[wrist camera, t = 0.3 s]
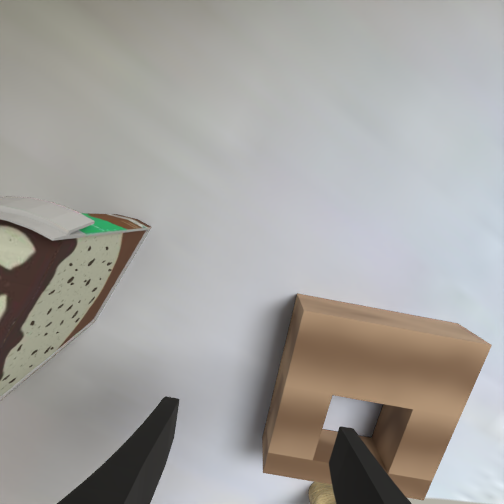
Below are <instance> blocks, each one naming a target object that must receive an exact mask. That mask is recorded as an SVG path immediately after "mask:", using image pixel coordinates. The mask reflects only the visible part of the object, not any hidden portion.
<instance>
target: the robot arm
mask: <svg viewBox="0 0 504 504" xmlns="http://www.w3.org/2000/svg"><path fill="white" fill-rule="evenodd" d="M178 406H179V399H176V398H171V397H164V398H163V399H162V400H161V402H160V403H159V404H158V406H157V407H156V408H155V409H154V411H153V412H152V413H151V414H150V416H149V417H148V418H147V419H146V420H145V421H144V423H143V424H142V425H141V426H140V427H139V428H138V429H137V430H136V431H135V433H134V434H133V435H132V436H131V437H130V438H129V439H128V440H127V441H126V442H125V443H124V444H123V445H122V446H121V447H120V448H119V449H118V450H117V451H116V452H115V453H114V454H113V455H112V456H111V457H110V458H109V459H108V460H107V461H106V462H105V463H104V464H103V465H102V466H101V467H100V468H98V469H97V470H96V471H95V472H94V473H93V474H92V475H91V476H90V477H88V478H87V479H86V480H85V481H84V482H83V483H82V484H80V485H79V486H78V487H77V488H75V489H74V490H73V491H72V492H71V493H69V494H68V495H67V496H66V497H65V498H63V499H62V500H61V501H60V502H58V503H57V504H150V502H151V500H152V497H153V495H154V492H155V490H156V487H157V485H158V482H159V480H160V477H161V475H162V472H163V470H164V467H165V465H166V461H167V458H168V455H169V452H170V449H171V445H172V442H173V439H174V433H175V427H176V420H177V413H178ZM329 469H330V475H331V481H332V487H333V492H334V496H335V500H336V504H411V502H410V501H409V500H408V499H407V498H406V496H405V495H404V494H403V493H402V492H401V490H400V489H399V488H398V487H397V485H396V484H395V483H394V482H393V480H392V479H391V478H390V477H389V475H388V474H387V473H386V471H385V470H384V469H383V468H382V466H381V465H380V464H379V462H378V461H377V460H376V458H375V457H374V456H373V454H372V453H371V452H370V450H369V449H368V448H367V446H366V445H365V444H364V442H363V441H362V440H361V438H360V437H359V436H358V434H357V433H356V432H355V430H354V429H352V428H346V427H339V431H338V434H337V437H336V440H335V444H334V447H333V450H332V453H331V457H330V460H329Z"/></svg>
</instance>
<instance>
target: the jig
mask: <svg viewBox="0 0 504 504" xmlns="http://www.w3.org/2000/svg"><path fill="white" fill-rule="evenodd" d="M491 346H492V345H491V344H489V343H487V342H486V341H484V340H483V339H481V338H480V337H478V336H477V335H475V334H473V333H472V332H470V331H469V330H467V329H466V328H464V327H462V326H461V325H459V324H457V323H452V322H447V321H441V320H436V319H431V318H425V317H420V316H414V315H409V314H404V313H398V312H393V311H388V310H382V309H377V308H372V307H366V306H361V305H356V304H350V303H345V302H339V301H334V300H329V299H323V298H318V297H313V296H307V295H302V294H297V296H296V301H295V305H294V309H293V313H292V317H291V321H290V325H289V329H288V334H287V338H286V342H285V346H284V350H283V354H282V358H281V362H280V367H279V371H278V375H277V379H276V383H275V387H274V391H273V395H272V400H271V404H270V408H269V412H268V416H267V420H266V424H265V429H264V433H263V437H262V447H263V473H268V474H274V475H279V476H285V477H291V478H297V479H303V480H308V481H314V482H320V483H326V484H332V481H331V475H330V469H329V460H330V457H331V453H332V450H333V447H334V444H335V440H336V437H337V434H338V432H336V431H330V430H325V429H322V428H323V424H324V421H325V418H326V414H327V411H328V408H329V404H330V401H331V398H332V395H335V396H341V397H346V398H352V399H358V400H363V401H369V402H374V403H380V404H383V407H382V410H381V413H380V415H379V418H378V421H377V424H376V427H375V430H374V432H373V435H372V438H370V437H364V436H359V435H358V436H359V437H360V438H361V440H362V441H363V442H364V444H365V445H366V446H367V448H368V449H369V450H370V452H371V453H372V454H373V456H374V457H375V458H376V460H377V461H378V462H379V464H380V465H381V466H382V468H383V469H384V470H385V471H386V473H387V474H388V475H389V477H390V478H391V479H392V480H393V482H394V483H395V484H396V485H397V487H398V488H399V489H400V490H401V492H402V493H403V494H404V495H405V496H406V497H407V498H413V499H419V500H424V498H425V496H426V494H427V491H428V489H429V487H430V484H431V482H432V480H433V478H434V475H435V473H436V471H437V469H438V466H439V464H440V462H441V459H442V457H443V455H444V453H445V450H446V448H447V446H448V443H449V441H450V439H451V437H452V434H453V432H454V430H455V428H456V425H457V423H458V421H459V418H460V416H461V414H462V412H463V409H464V407H465V405H466V403H467V400H468V398H469V396H470V393H471V391H472V389H473V387H474V384H475V382H476V380H477V377H478V375H479V373H480V371H481V368H482V366H483V364H484V362H485V359H486V357H487V355H488V352H489V350H490V348H491Z"/></svg>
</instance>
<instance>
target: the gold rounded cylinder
mask: <svg viewBox="0 0 504 504" xmlns="http://www.w3.org/2000/svg"><path fill="white" fill-rule="evenodd" d="M308 494H309V500H310V504H336V500H335V496H334V492H333V487H332V484H326V483H320V482H314V483H313V484H312V485H311V486H310V488H309V493H308Z"/></svg>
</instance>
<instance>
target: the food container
mask: <svg viewBox="0 0 504 504" xmlns="http://www.w3.org/2000/svg"><path fill="white" fill-rule="evenodd" d="M150 229H151V226H149V225H147V224H145V223H143V222H141V221H140V220H138V219H134V218H130V217H125V216H121V215H117V214H83V213H79V212H77V211H75V210H72V209H70V208H67V207H64V206H62V205H59V204H56V203H54V202H49V201H44V200H40V199H35V198H30V197H12V196H6V197H0V401H1V400H2V399H3V398H4V397H6V396H7V395H8V394H9V393H10V392H12V391H13V390H14V389H15V388H16V387H18V386H19V385H20V384H21V383H22V382H23V381H25V380H26V379H27V378H28V377H29V376H31V375H32V374H33V373H34V372H35V371H37V370H38V369H39V368H40V367H41V366H42V365H44V364H45V363H46V362H47V361H48V360H50V359H51V358H52V357H53V356H54V355H56V354H57V353H58V352H59V351H60V350H62V349H63V348H64V347H65V346H66V345H67V344H69V343H70V342H71V341H72V340H73V339H75V338H76V337H77V336H78V335H79V334H81V333H82V332H83V331H84V330H85V329H86V328H88V327H89V326H90V325H91V324H92V323H94V322H95V321H96V319H97V318H98V316H99V314H100V313H101V311H102V309H103V308H104V306H105V304H106V303H107V301H108V299H109V297H110V296H111V294H112V292H113V291H114V289H115V287H116V286H117V284H118V282H119V281H120V279H121V277H122V276H123V274H124V272H125V271H126V269H127V267H128V266H129V264H130V262H131V261H132V259H133V257H134V256H135V254H136V252H137V251H138V249H139V247H140V246H141V244H142V242H143V241H144V239H145V237H146V236H147V234H148V232H149V231H150Z"/></svg>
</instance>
